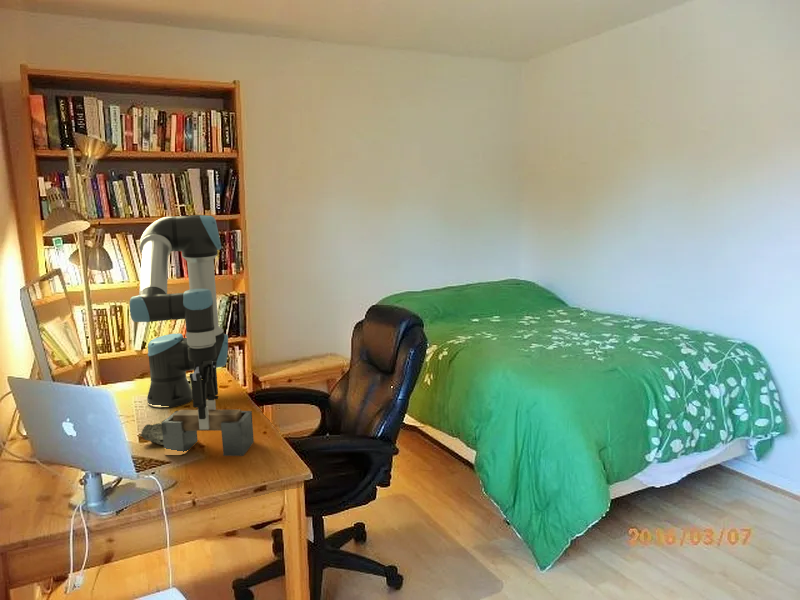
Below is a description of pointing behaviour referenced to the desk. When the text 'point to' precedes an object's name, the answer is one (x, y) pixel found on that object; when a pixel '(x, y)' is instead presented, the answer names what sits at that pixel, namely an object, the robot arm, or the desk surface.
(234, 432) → the bracket
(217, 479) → the desk surface
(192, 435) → the bracket
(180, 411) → the rail
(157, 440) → the rock sample
